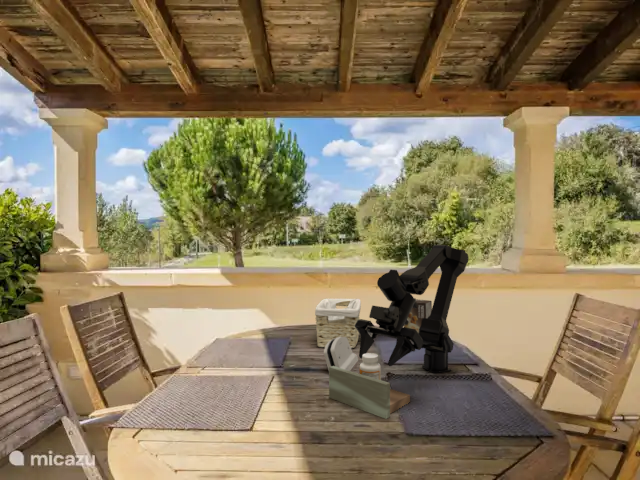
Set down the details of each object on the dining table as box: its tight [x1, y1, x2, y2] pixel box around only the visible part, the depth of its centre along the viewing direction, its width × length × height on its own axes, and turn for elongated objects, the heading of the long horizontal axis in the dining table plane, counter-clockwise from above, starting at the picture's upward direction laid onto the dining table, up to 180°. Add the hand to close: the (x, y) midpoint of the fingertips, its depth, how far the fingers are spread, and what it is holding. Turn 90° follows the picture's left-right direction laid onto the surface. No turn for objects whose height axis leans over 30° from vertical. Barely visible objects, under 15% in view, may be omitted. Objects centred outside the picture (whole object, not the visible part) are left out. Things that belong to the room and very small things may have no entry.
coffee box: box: [403, 298, 433, 333], centre depth 164 cm, size 9×6×16 cm
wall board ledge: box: [328, 366, 411, 420], centre depth 112 cm, size 12×18×8 cm, turn 46°
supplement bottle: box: [358, 352, 382, 380], centre depth 111 cm, size 5×5×10 cm
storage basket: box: [314, 298, 362, 349], centre depth 169 cm, size 24×16×15 cm
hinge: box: [323, 337, 359, 371], centre depth 139 cm, size 17×5×10 cm, turn 162°
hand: (374, 361), depth 112 cm, fingers open, 9 cm apart
